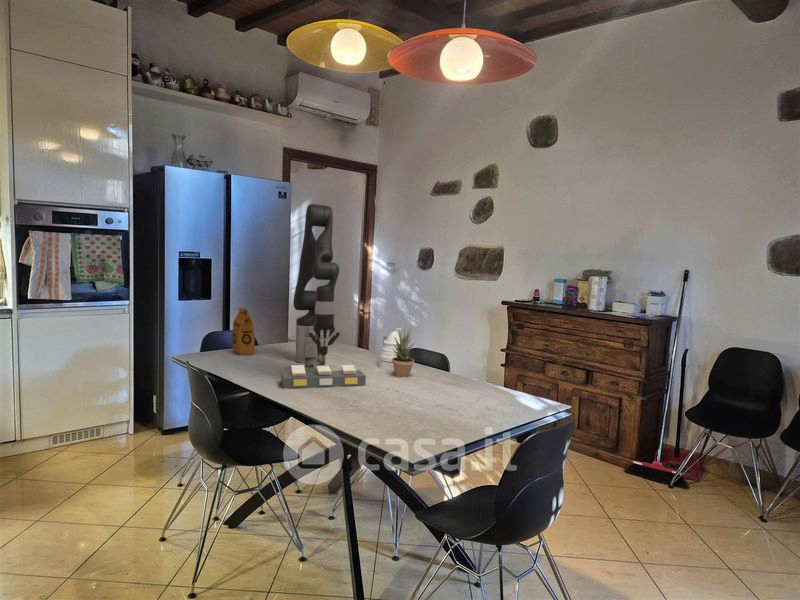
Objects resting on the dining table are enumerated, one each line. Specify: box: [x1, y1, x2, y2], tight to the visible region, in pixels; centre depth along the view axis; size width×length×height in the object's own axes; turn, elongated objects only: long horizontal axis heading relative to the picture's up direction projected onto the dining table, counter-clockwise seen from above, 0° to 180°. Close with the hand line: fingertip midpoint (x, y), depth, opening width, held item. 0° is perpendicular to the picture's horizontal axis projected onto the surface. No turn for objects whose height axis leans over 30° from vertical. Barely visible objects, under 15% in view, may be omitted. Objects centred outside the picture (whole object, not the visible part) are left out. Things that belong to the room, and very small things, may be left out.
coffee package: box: [231, 306, 256, 356], centre depth 274 cm, size 10×12×22 cm
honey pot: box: [378, 327, 408, 371], centre depth 259 cm, size 13×13×18 cm
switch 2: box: [316, 365, 332, 375], centre depth 223 cm, size 6×5×1 cm
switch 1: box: [290, 364, 306, 377], centre depth 220 cm, size 6×5×1 cm
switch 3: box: [340, 364, 357, 374], centre depth 226 cm, size 6×5×1 cm
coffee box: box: [304, 334, 326, 372], centre depth 242 cm, size 9×6×16 cm
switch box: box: [280, 369, 367, 389], centre depth 223 cm, size 11×32×4 cm, turn 108°
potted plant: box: [392, 322, 415, 378], centre depth 242 cm, size 10×10×25 cm
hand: (323, 355), depth 225 cm, fingers closed
